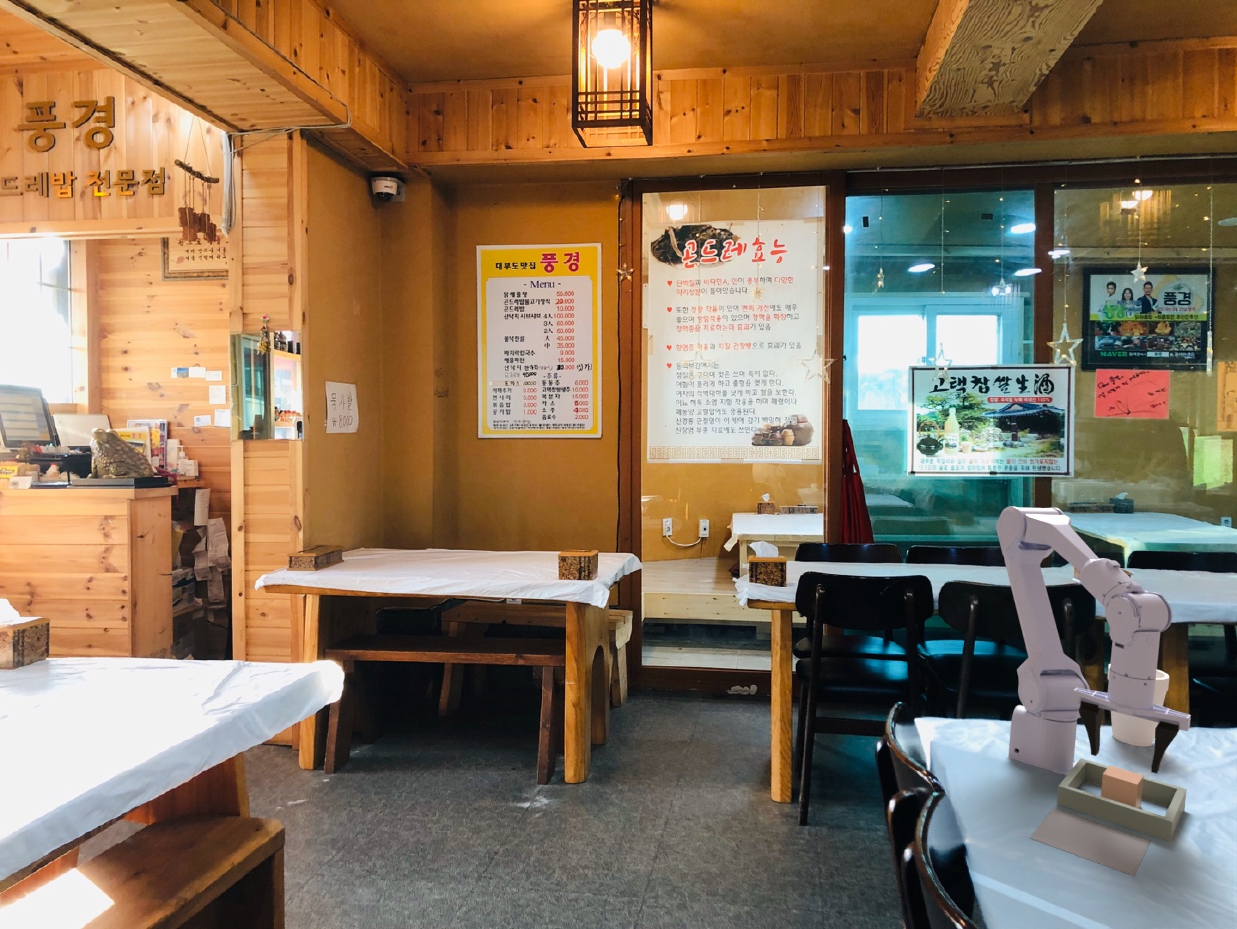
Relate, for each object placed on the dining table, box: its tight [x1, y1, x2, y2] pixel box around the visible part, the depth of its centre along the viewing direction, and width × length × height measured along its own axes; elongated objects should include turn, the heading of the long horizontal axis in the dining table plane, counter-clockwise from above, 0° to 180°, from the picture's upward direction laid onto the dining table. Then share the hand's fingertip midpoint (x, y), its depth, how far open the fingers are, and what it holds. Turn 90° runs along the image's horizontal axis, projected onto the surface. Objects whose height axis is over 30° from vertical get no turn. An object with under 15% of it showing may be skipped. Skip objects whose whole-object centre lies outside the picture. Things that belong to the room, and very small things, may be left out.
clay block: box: [1100, 765, 1145, 809], centre depth 116 cm, size 4×4×5 cm
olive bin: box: [1056, 758, 1187, 842], centre depth 116 cm, size 14×14×4 cm
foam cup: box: [1107, 663, 1170, 748], centre depth 144 cm, size 10×9×13 cm
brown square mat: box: [1029, 807, 1151, 877], centre depth 106 cm, size 12×12×1 cm
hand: (1124, 762), depth 116 cm, fingers open, 7 cm apart
